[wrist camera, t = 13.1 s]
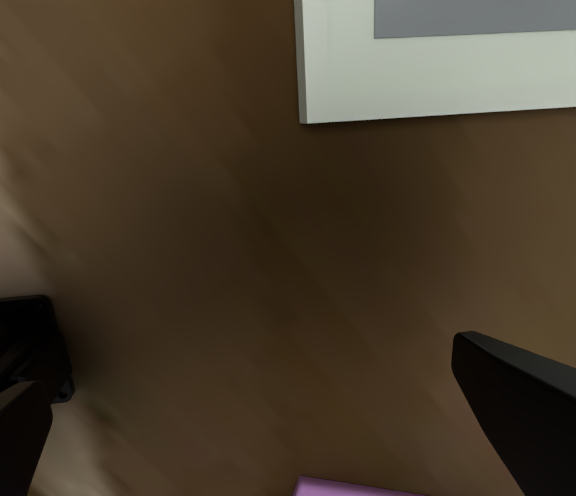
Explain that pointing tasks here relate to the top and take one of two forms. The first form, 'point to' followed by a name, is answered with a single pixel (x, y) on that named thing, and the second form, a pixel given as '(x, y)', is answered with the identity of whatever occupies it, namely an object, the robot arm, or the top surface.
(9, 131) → the top surface
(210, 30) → the top surface
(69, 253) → the top surface
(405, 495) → the earring display
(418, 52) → the sage tray
